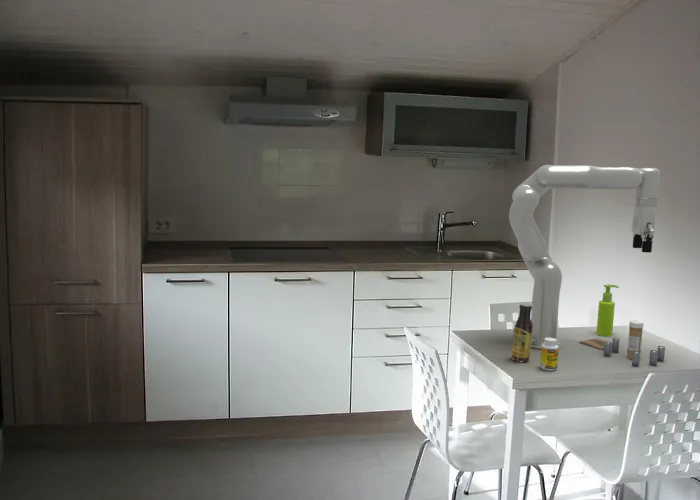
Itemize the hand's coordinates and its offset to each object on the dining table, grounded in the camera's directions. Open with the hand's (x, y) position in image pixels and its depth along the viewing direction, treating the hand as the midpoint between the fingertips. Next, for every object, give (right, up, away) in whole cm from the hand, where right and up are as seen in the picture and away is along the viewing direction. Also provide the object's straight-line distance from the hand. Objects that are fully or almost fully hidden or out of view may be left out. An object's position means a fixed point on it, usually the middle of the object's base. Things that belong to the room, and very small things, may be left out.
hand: (641, 250), depth 252 cm
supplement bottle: (-39, -40, -18) cm, 58 cm away
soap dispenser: (-4, -34, +25) cm, 42 cm away
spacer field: (-5, -38, -5) cm, 39 cm away
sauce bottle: (-46, -38, -10) cm, 61 cm away
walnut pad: (-12, -36, +11) cm, 39 cm away
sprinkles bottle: (-5, -39, -5) cm, 39 cm away
